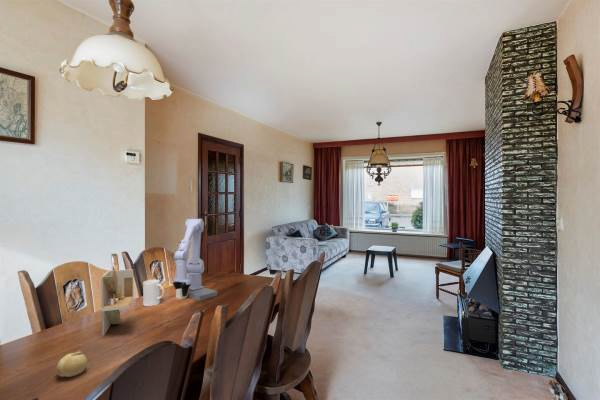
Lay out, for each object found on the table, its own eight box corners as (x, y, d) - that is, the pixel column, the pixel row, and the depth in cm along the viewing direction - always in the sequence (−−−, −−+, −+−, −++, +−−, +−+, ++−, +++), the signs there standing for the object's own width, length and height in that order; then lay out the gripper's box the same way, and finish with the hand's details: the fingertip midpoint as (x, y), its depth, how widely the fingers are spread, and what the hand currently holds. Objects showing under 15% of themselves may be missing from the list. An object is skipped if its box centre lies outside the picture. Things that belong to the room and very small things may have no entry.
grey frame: (134, 322, 142) (133, 259, 142) (128, 336, 126) (127, 266, 126) (109, 325, 138) (109, 260, 138) (100, 340, 123) (99, 268, 123)
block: (175, 298, 176) (175, 289, 176) (183, 296, 179) (183, 287, 179) (180, 299, 173) (180, 290, 173) (187, 297, 176) (187, 288, 176)
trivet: (187, 296, 178) (187, 292, 178) (205, 291, 187) (205, 287, 187) (199, 300, 170) (199, 296, 170) (217, 295, 180) (217, 291, 180)
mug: (168, 302, 168) (168, 280, 168) (156, 307, 160) (156, 284, 160) (151, 300, 171) (151, 278, 171) (138, 305, 163) (138, 282, 163)
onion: (66, 383, 93) (66, 360, 93) (50, 378, 96) (50, 355, 96) (93, 370, 101) (93, 348, 101) (77, 365, 104) (76, 344, 104)
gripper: (168, 270, 177) (168, 294, 177) (182, 274, 168) (182, 299, 168) (179, 268, 183) (179, 291, 183) (193, 272, 174) (193, 296, 174)
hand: (181, 295), depth 176 cm, fingers open, 6 cm apart
